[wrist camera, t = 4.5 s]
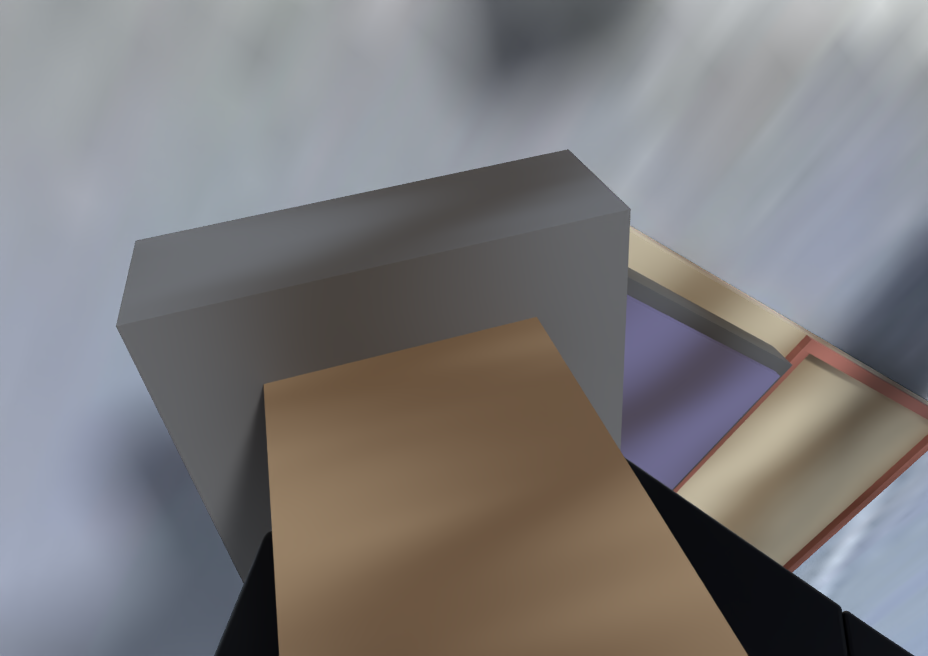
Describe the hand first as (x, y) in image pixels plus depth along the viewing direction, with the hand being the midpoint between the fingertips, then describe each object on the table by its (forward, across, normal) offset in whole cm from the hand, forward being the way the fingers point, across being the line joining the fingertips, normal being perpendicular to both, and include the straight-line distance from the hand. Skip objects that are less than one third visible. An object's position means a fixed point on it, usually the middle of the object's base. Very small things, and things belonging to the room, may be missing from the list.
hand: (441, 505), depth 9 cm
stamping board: (+13, -12, +15) cm, 23 cm away
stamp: (+3, 0, 0) cm, 3 cm away
